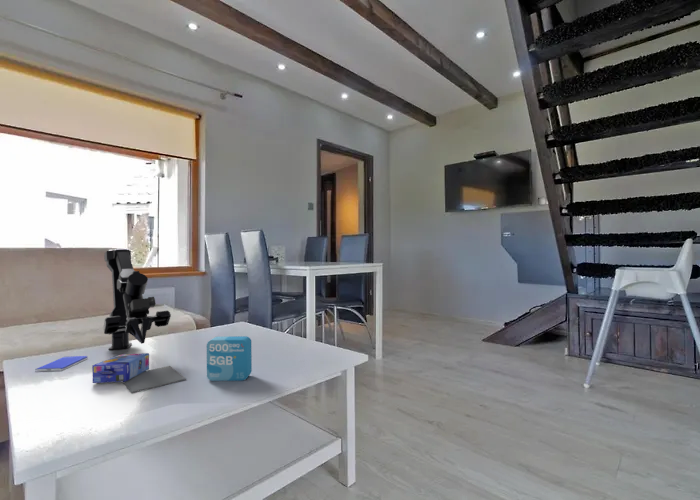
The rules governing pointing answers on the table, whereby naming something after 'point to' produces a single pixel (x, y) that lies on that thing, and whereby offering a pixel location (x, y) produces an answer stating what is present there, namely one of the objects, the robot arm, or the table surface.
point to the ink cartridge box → (120, 368)
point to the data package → (229, 358)
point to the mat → (153, 379)
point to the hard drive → (62, 363)
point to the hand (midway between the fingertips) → (143, 342)
